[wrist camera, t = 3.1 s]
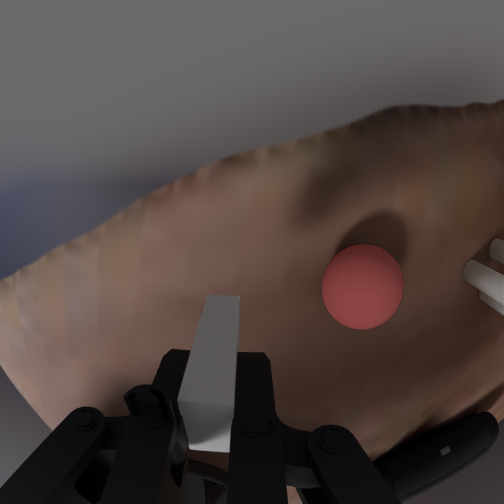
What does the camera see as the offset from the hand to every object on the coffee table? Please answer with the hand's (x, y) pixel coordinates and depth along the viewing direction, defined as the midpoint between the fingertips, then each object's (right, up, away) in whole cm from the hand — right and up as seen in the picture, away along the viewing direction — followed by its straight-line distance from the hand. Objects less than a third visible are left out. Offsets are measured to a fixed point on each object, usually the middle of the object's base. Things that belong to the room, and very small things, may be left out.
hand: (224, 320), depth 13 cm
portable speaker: (+33, -31, +19) cm, 49 cm away
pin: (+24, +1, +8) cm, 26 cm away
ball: (+9, +1, +5) cm, 10 cm away
